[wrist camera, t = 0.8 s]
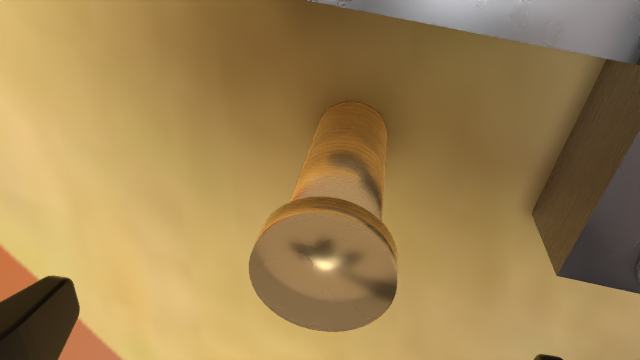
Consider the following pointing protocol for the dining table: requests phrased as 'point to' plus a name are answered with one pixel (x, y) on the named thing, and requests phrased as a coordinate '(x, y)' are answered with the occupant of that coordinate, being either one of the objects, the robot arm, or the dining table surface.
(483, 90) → the dining table surface
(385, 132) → the pin
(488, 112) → the dining table surface
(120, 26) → the dining table surface
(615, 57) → the chain ends
